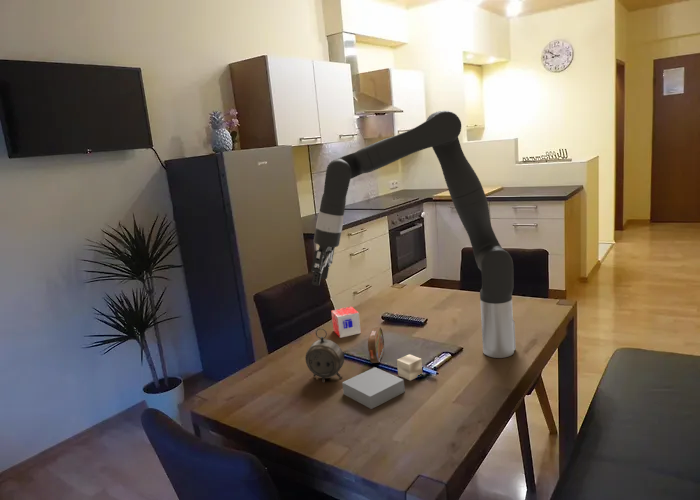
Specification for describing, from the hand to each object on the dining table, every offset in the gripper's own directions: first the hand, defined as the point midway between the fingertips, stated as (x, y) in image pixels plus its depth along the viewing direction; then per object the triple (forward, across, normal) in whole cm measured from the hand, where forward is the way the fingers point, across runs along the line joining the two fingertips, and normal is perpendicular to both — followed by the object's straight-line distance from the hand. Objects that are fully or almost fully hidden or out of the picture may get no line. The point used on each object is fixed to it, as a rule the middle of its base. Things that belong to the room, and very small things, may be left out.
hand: (319, 281), depth 154 cm
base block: (+24, -12, -23) cm, 36 cm away
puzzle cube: (+26, +33, -6) cm, 42 cm away
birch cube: (+21, -1, -32) cm, 38 cm away
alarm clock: (+28, -4, -8) cm, 29 cm away
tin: (+23, +12, -20) cm, 33 cm away
